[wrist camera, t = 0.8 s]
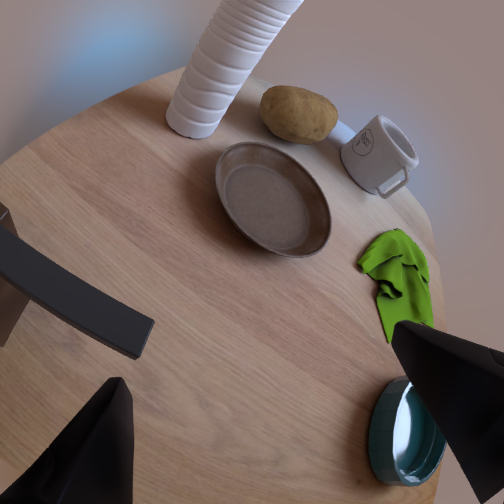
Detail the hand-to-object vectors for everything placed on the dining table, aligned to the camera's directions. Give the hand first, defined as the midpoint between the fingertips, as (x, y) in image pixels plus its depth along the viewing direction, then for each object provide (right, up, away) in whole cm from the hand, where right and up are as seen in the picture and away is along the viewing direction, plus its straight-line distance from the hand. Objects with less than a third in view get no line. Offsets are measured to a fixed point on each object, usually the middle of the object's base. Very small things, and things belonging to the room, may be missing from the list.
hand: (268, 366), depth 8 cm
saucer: (+1, +9, +25) cm, 26 cm away
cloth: (+22, -1, +32) cm, 39 cm away
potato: (+4, +21, +34) cm, 40 cm away
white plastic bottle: (-8, +18, +24) cm, 31 cm away
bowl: (+19, -19, +20) cm, 34 cm away
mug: (+19, +17, +40) cm, 48 cm away
